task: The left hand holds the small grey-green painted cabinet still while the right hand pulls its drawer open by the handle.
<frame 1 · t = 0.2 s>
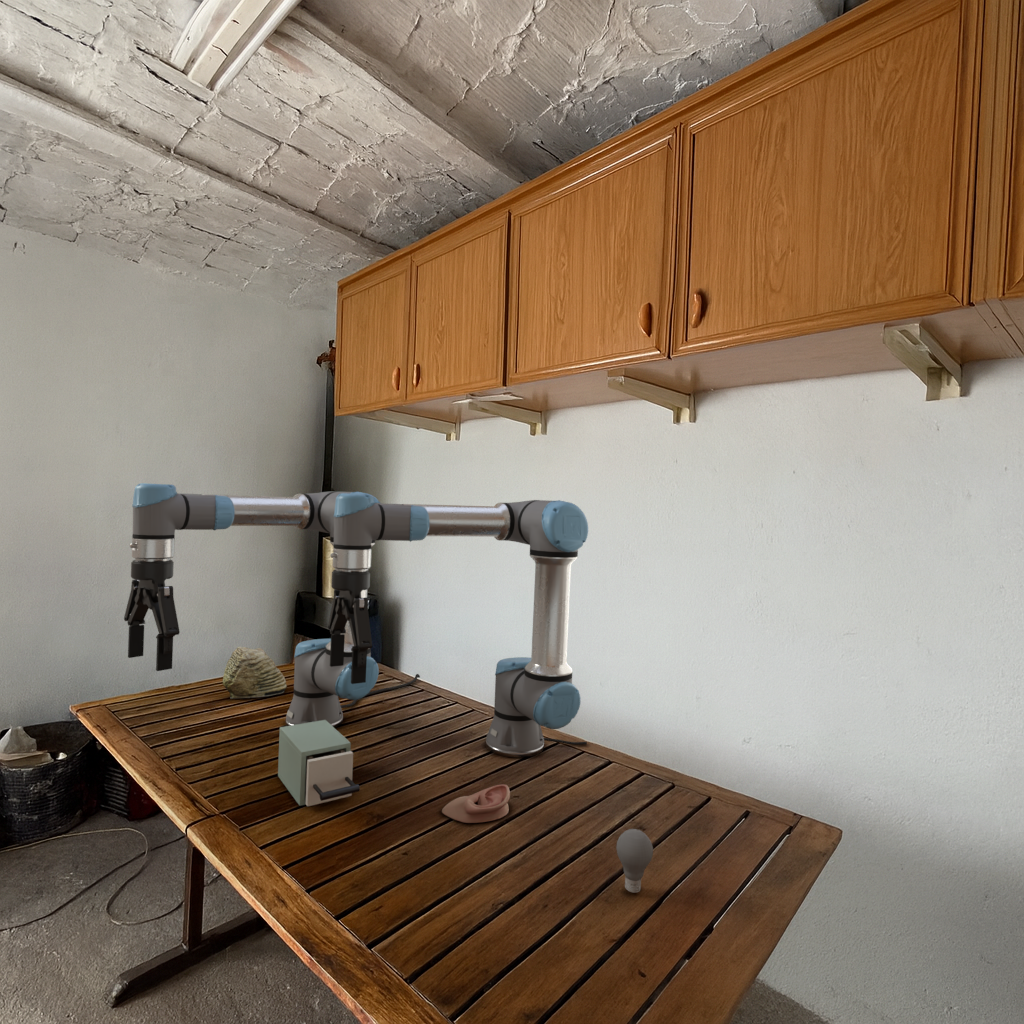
left hand: (149, 663, 129), 28 cm above the table, tool pointing down, fingers open, 13 cm apart
right hand: (346, 674, 128), 28 cm above the table, tool pointing down, fingers open, 13 cm apart
drawer: (323, 771, 134), point 6 cm above the table, slide at 1.8 cm
fossil: (254, 694, 198), on the table
anatomical model: (476, 811, 131), on the table
cabinet: (312, 784, 139), on the table
light bulb: (632, 891, 106), on the table
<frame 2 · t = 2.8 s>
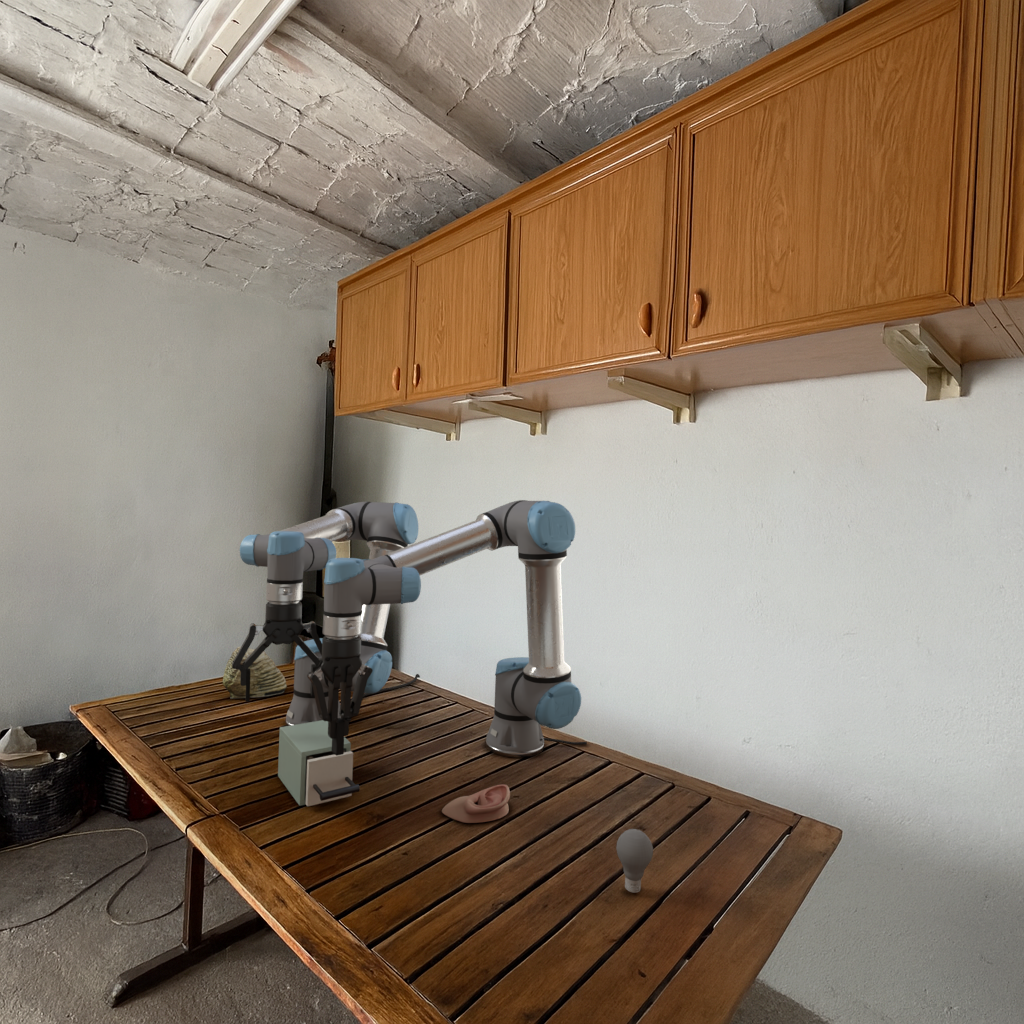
left hand: (280, 697, 140), 19 cm above the table, tool pointing down, fingers open, 13 cm apart
right hand: (337, 752, 127), 12 cm above the table, tool pointing down, fingers closed
nothing on the table moved.
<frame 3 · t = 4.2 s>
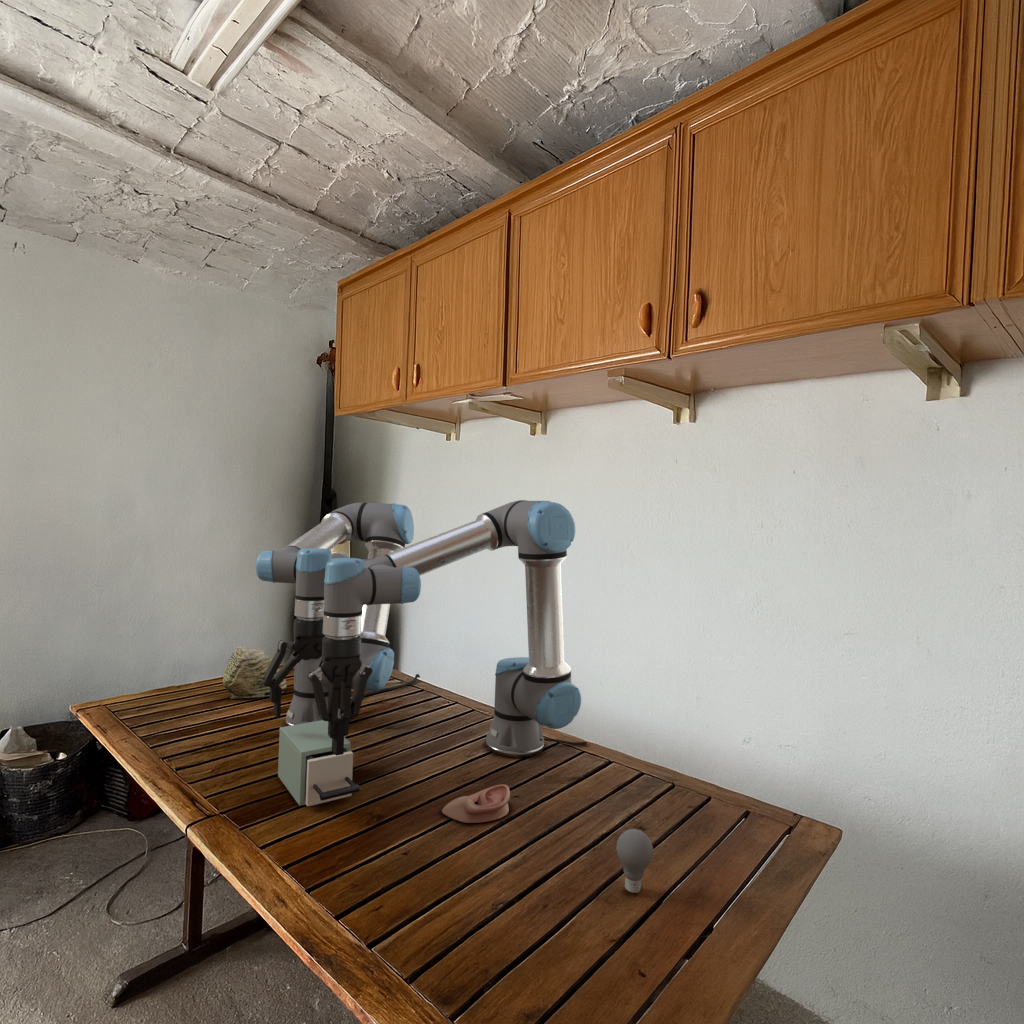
left hand: (308, 711, 142), 15 cm above the table, tool pointing down, fingers open, 13 cm apart
right hand: (337, 752, 127), 12 cm above the table, tool pointing down, fingers closed
nothing on the table moved.
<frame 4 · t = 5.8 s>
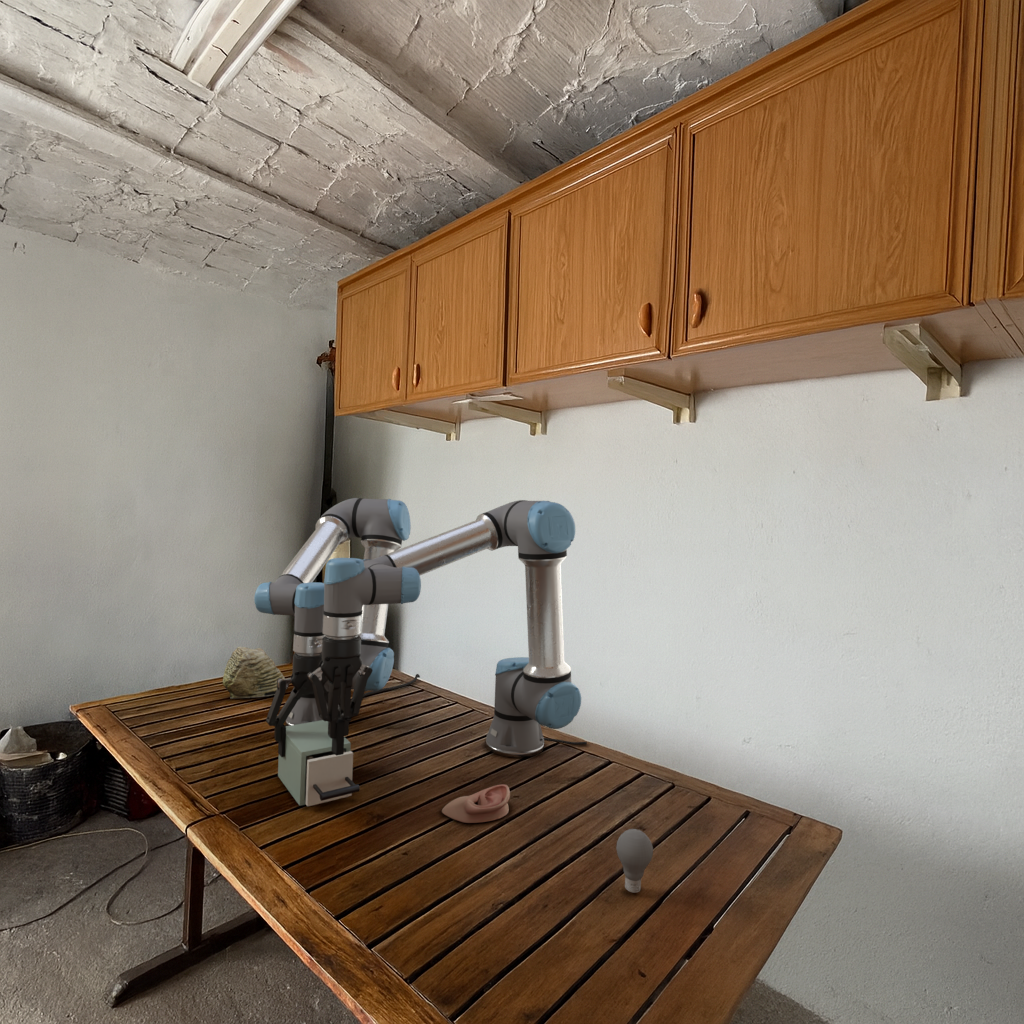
left hand: (307, 749, 143), 6 cm above the table, tool pointing down, fingers closed on cabinet, 10 cm apart
right hand: (337, 752, 127), 12 cm above the table, tool pointing down, fingers closed
cabinet: (312, 784, 139), on the table, touching left hand
everything else where it was.
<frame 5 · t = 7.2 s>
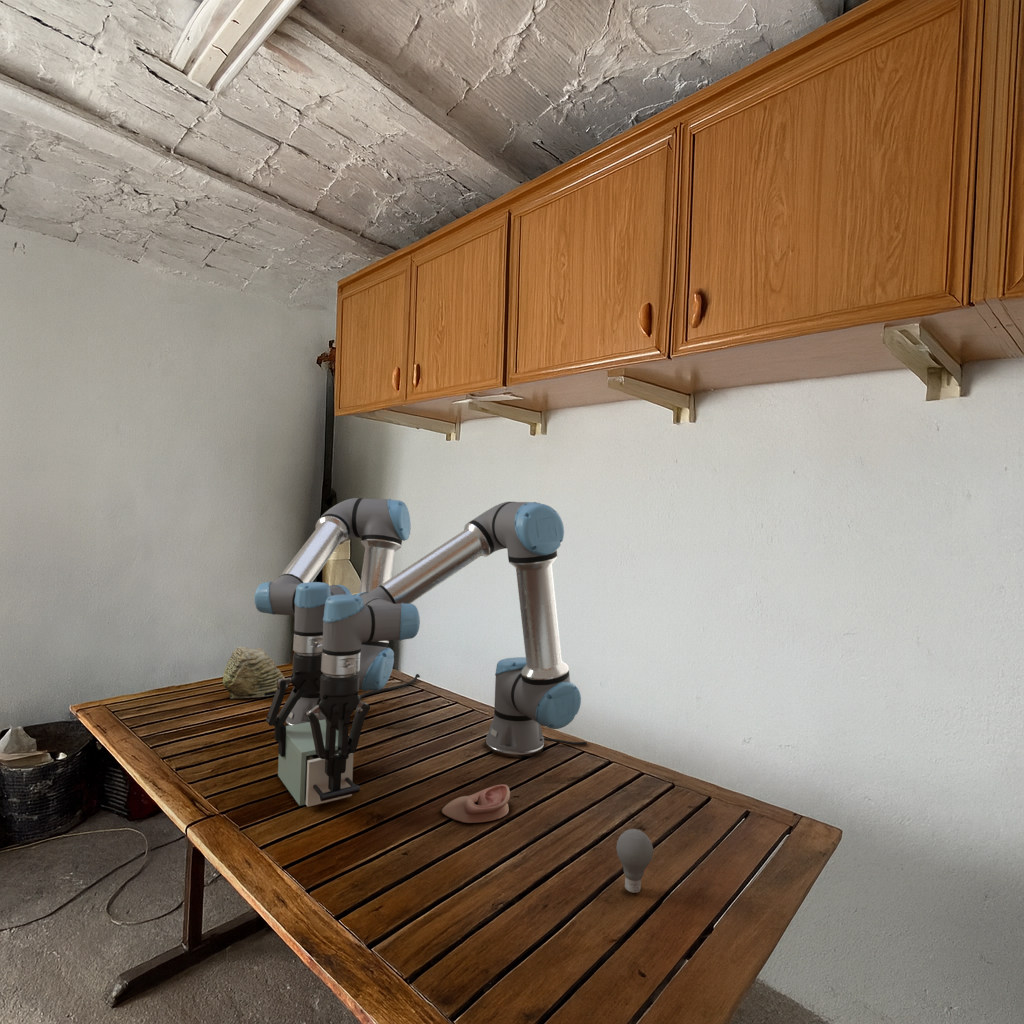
left hand: (307, 749, 142), 6 cm above the table, tool pointing down, fingers closed on cabinet, 10 cm apart
right hand: (334, 789, 127), 5 cm above the table, tool pointing down, fingers closed
cabinet: (312, 784, 139), on the table, touching left hand
everything else where it was.
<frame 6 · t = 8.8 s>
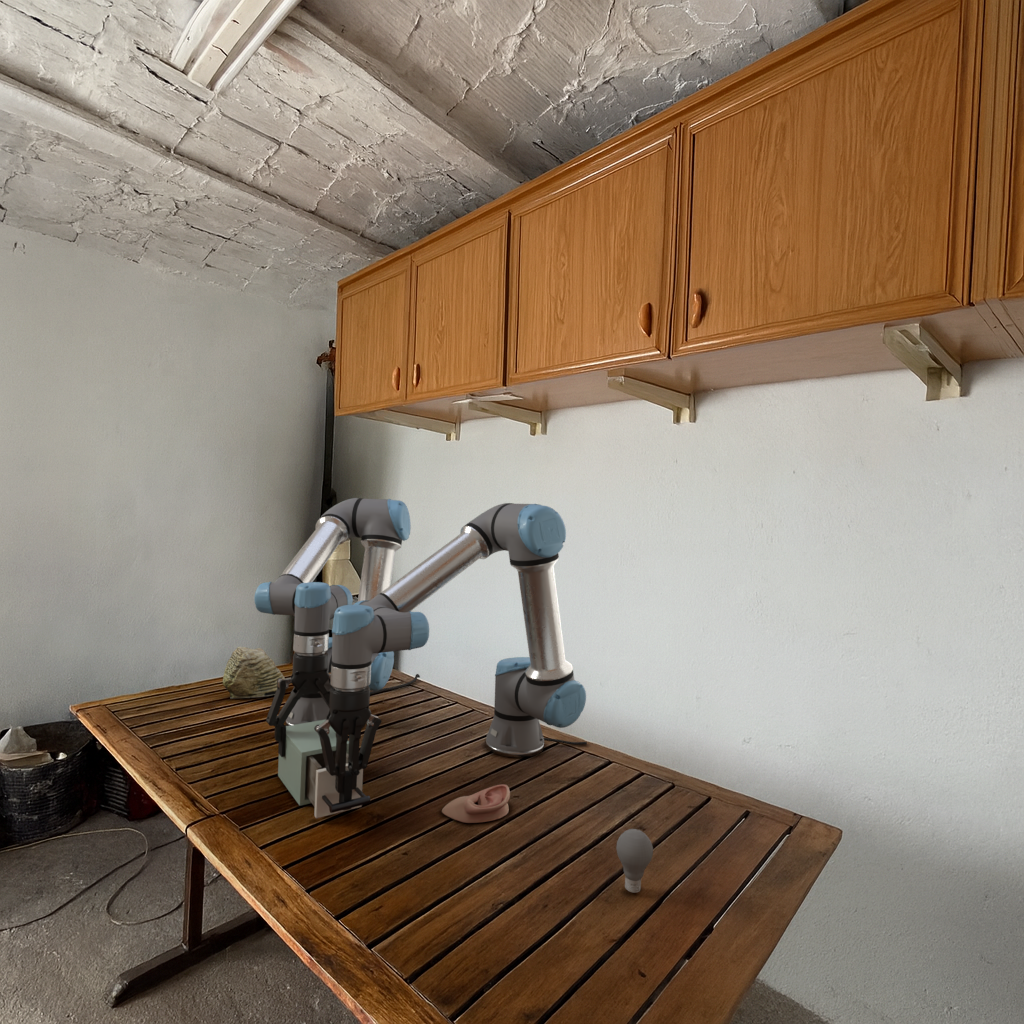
left hand: (307, 749, 142), 6 cm above the table, tool pointing down, fingers closed on cabinet, 10 cm apart
right hand: (345, 806, 123), 4 cm above the table, tool pointing down, fingers closed
drawer: (332, 781, 129), point 6 cm above the table, slide at 7.2 cm, touching right hand
cabinet: (312, 784, 139), on the table, touching left hand
everything else where it was.
when the left hand's fingers open (6 cm above the table, at t = 10.7 s): cabinet stays where it is, on the table.
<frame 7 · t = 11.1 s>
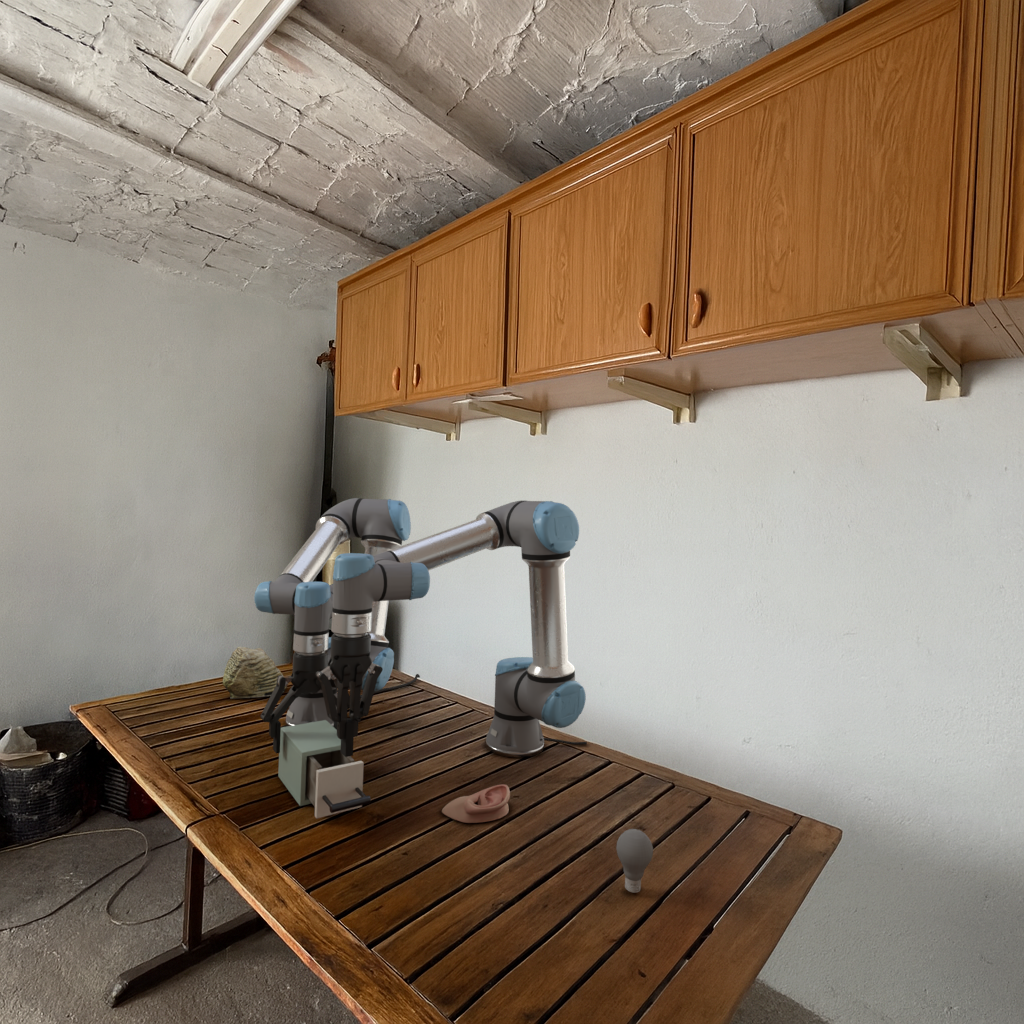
left hand: (307, 745, 143), 7 cm above the table, tool pointing down, fingers open, 13 cm apart
right hand: (346, 753, 123), 14 cm above the table, tool pointing down, fingers closed
drawer: (332, 781, 129), point 6 cm above the table, slide at 7.2 cm
cabinet: (312, 785, 139), on the table
everything else where it was.
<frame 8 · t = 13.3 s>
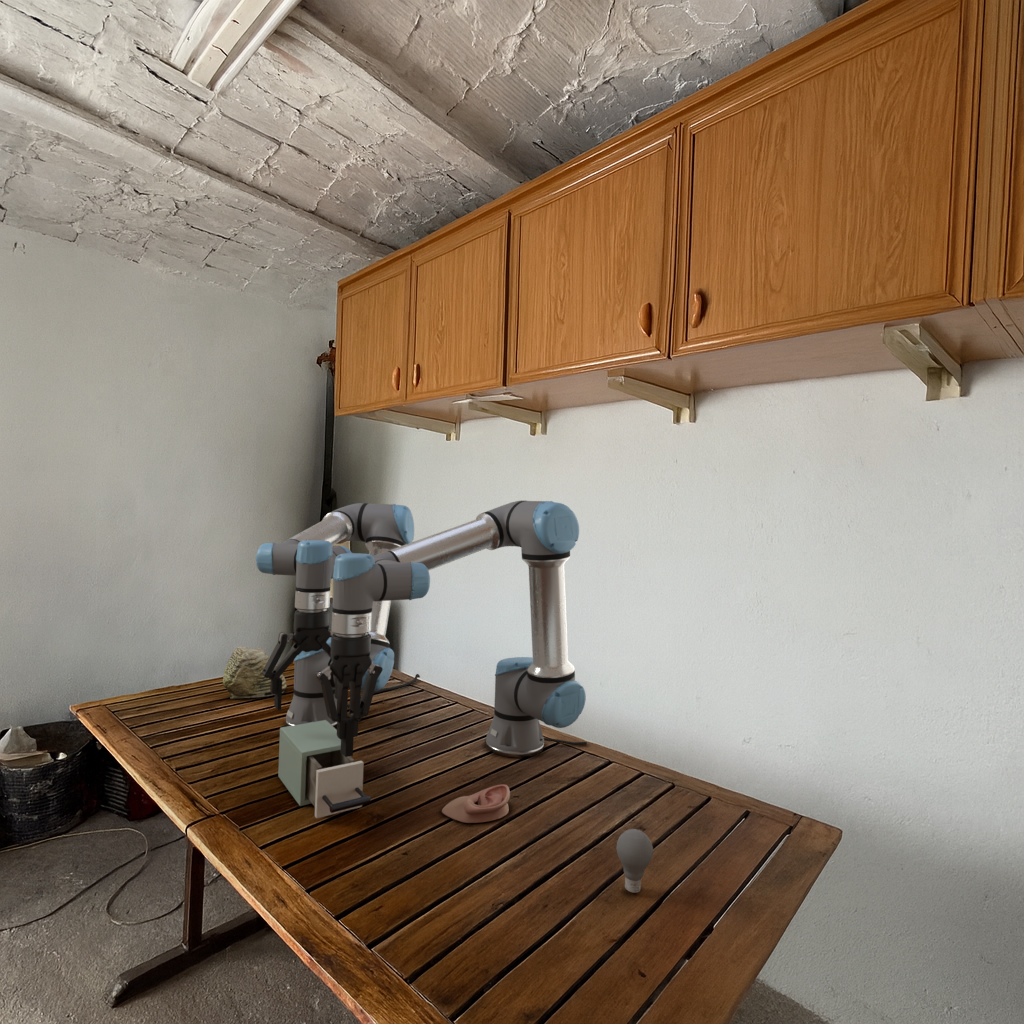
left hand: (308, 703, 142), 17 cm above the table, tool pointing down, fingers open, 13 cm apart
right hand: (346, 753, 123), 14 cm above the table, tool pointing down, fingers closed
nothing on the table moved.
at the end: drawer slide at 7.2 cm; cabinet tilted 0°; cabinet never tilted more than 1° during the clip; cabinet moved 0.2 cm from its start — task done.
